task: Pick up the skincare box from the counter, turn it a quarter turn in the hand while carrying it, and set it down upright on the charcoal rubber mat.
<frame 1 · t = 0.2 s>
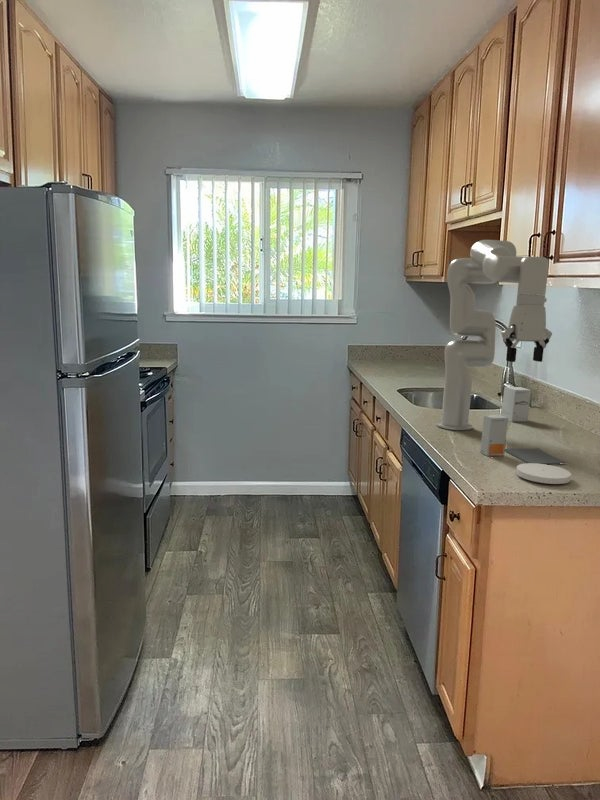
hand: (524, 361, 184), 30 cm above the counter, tool pointing down, fingers open, 9 cm apart
plastic lid: (542, 480, 175), on the counter
mat: (533, 456, 196), on the counter
skincare box: (491, 454, 198), on the counter
supplement box: (514, 420, 250), on the counter
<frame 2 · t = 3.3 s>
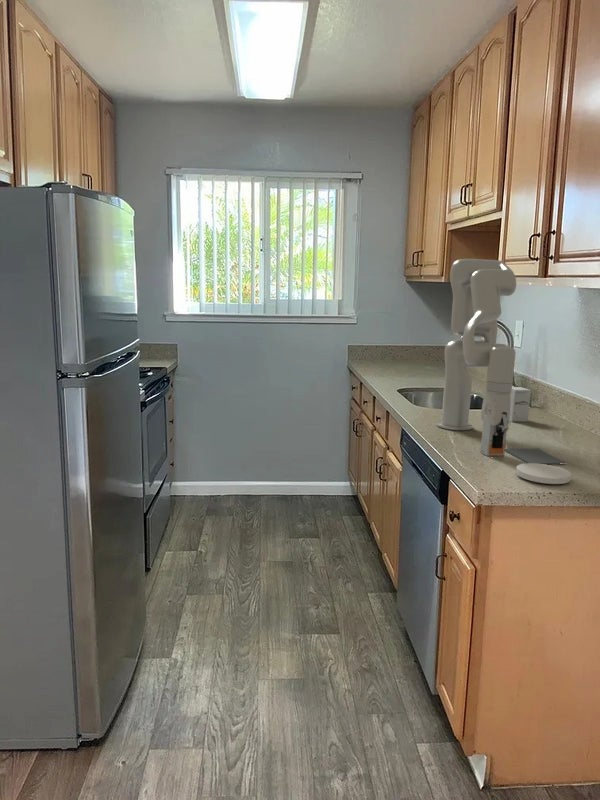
hand: (492, 445, 197), 3 cm above the counter, tool pointing down, fingers closed on skincare box, 4 cm apart
skincare box: (491, 454, 198), on the counter, touching gripper
everything else where it was.
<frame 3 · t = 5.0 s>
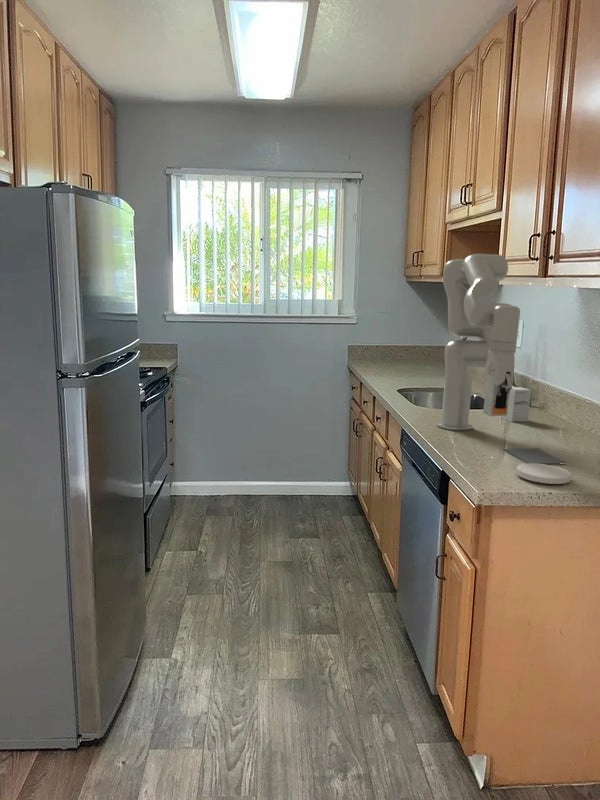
hand: (496, 405, 195), 15 cm above the counter, tool pointing down, fingers closed on skincare box, 4 cm apart
skincare box: (495, 415, 196), point 12 cm above the counter, touching gripper
everything else where it was.
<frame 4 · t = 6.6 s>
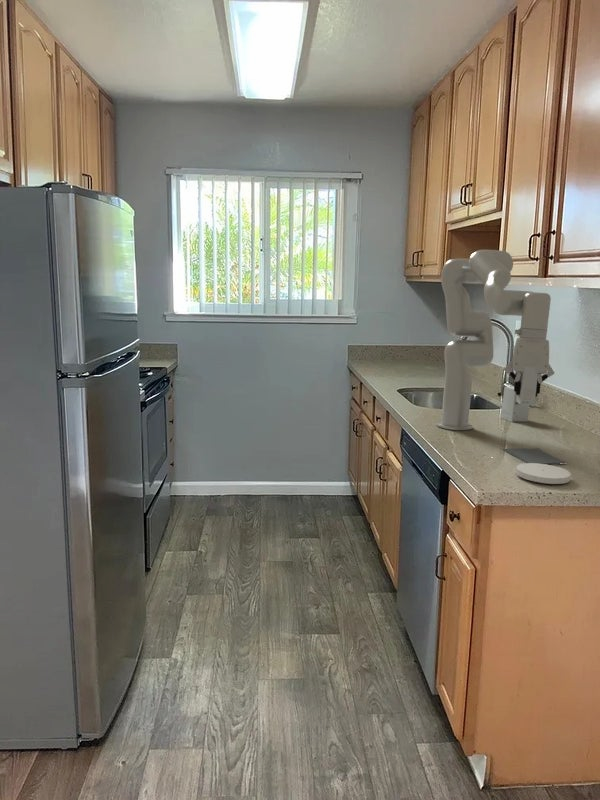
hand: (526, 394, 193), 19 cm above the counter, tool pointing down, fingers closed on skincare box, 4 cm apart
skincare box: (525, 404, 194), point 16 cm above the counter, touching gripper
everything else where it was.
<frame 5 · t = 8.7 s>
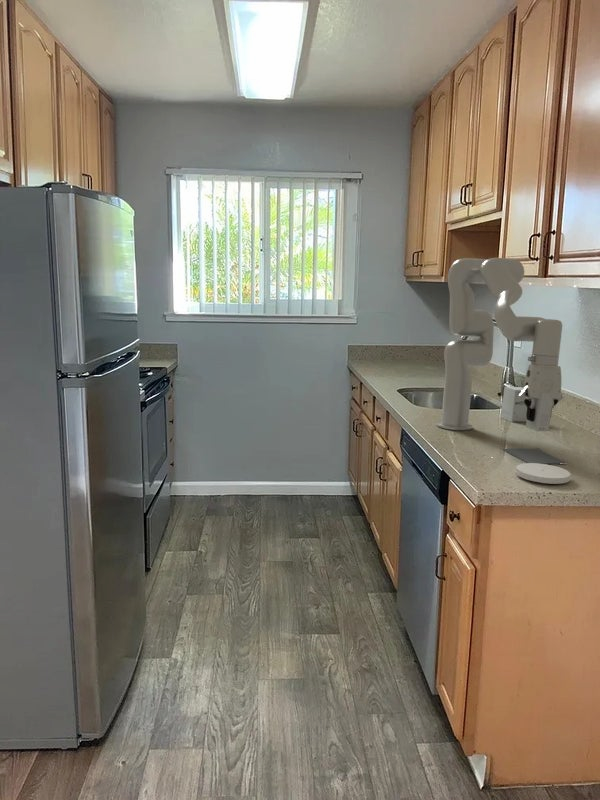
hand: (538, 419, 194), 12 cm above the counter, tool pointing down, fingers closed on skincare box, 4 cm apart
skincare box: (537, 429, 195), point 9 cm above the counter, touching gripper
everything else where it was.
when the fingers open (5 cm above the counter, at t = 10.3 s): skincare box drops 1 cm, resting on mat.
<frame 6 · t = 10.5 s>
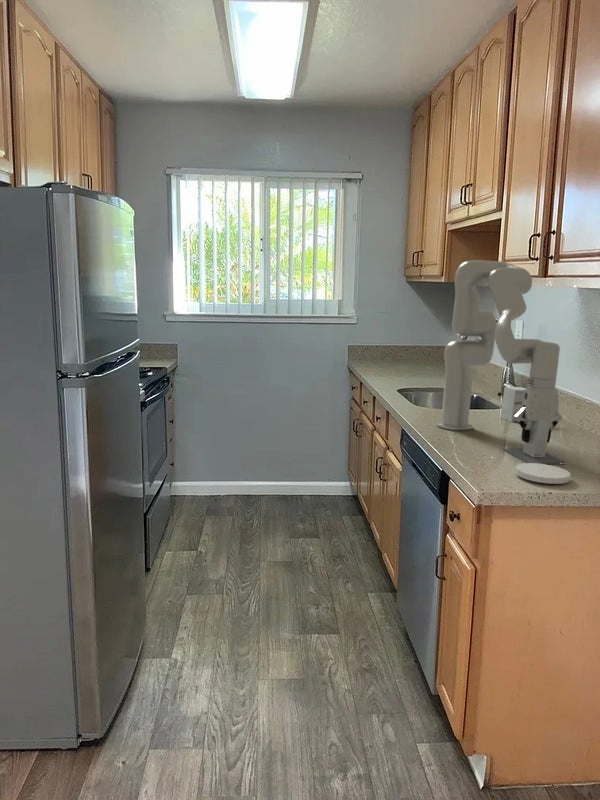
hand: (535, 441, 195), 5 cm above the counter, tool pointing down, fingers open, 6 cm apart
skincare box: (533, 455, 196), resting on mat
everything else where it was.
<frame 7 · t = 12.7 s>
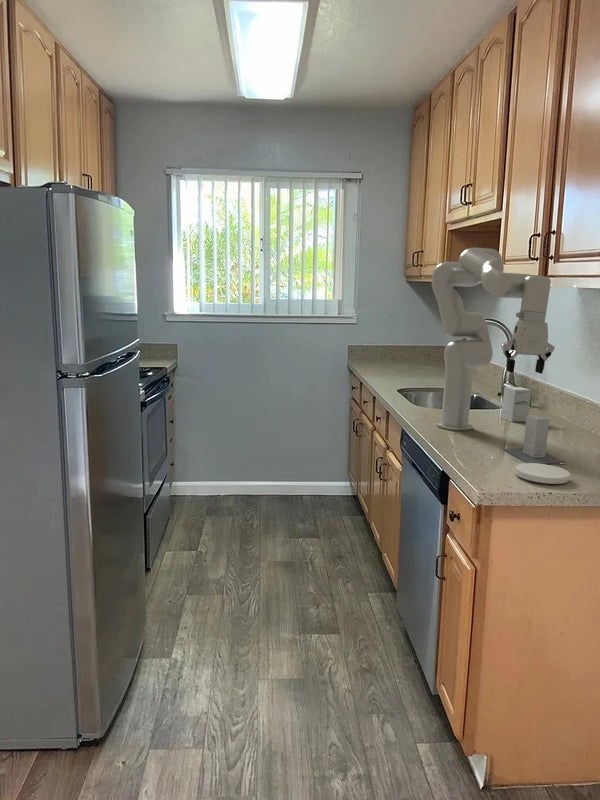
hand: (524, 372, 198), 25 cm above the counter, tool pointing down, fingers open, 9 cm apart
nothing on the counter moved.
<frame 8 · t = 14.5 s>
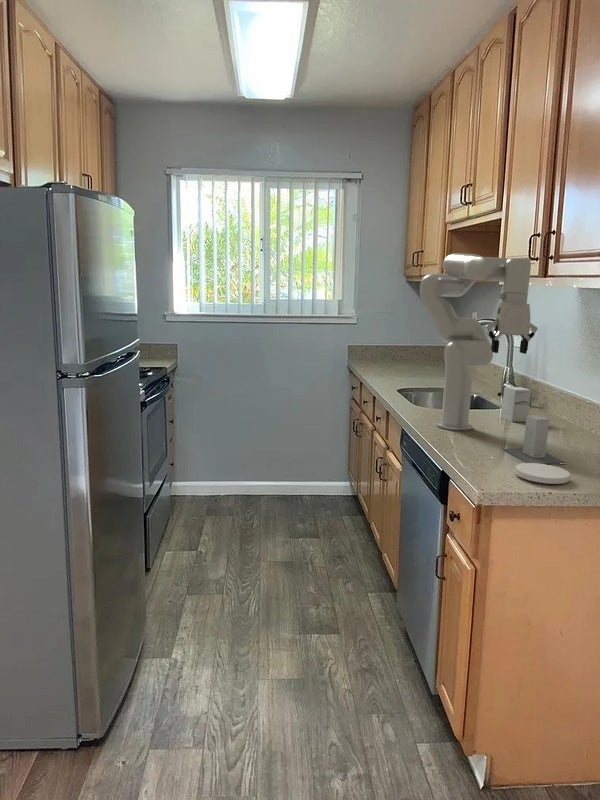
hand: (508, 352, 204), 30 cm above the counter, tool pointing down, fingers open, 9 cm apart
nothing on the counter moved.
at the end: skincare box inside the target area on the mat (0.2 cm from its centre), point 0.3 cm above the mat's base; skincare box tilted 0°; the gripper is holding nothing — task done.
